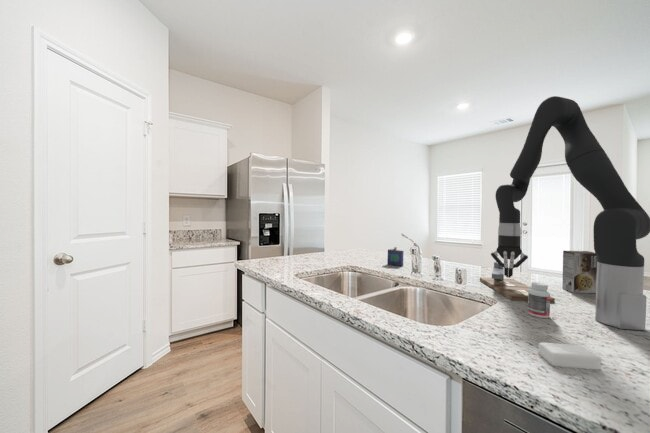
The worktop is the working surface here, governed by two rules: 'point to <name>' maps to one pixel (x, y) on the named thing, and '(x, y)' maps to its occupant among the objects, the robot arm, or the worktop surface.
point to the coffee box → (579, 271)
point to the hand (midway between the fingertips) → (508, 277)
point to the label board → (510, 288)
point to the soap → (569, 356)
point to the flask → (395, 257)
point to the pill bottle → (539, 300)
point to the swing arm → (498, 272)
